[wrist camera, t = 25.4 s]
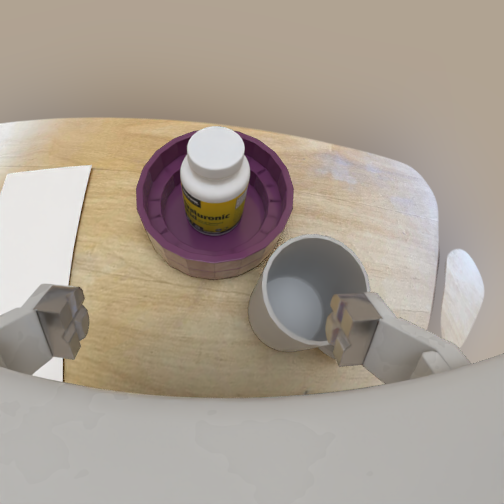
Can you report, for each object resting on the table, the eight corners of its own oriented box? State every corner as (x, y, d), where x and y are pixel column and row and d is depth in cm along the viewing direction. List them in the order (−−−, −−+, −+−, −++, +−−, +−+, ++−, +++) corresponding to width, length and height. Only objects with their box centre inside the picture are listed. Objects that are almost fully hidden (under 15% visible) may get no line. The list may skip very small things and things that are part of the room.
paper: (74, 400, 21) (69, 401, 20) (-41, 374, 19) (-47, 374, 18) (94, 161, 30) (91, 155, 29) (-11, 178, 28) (-15, 174, 27)
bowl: (307, 215, 31) (323, 189, 26) (214, 310, 26) (214, 298, 22) (215, 141, 33) (217, 109, 28) (121, 215, 28) (107, 188, 24)
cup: (286, 258, 29) (315, 214, 21) (359, 333, 27) (414, 316, 19) (229, 310, 26) (236, 284, 18) (308, 390, 25) (350, 399, 16)
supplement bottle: (175, 224, 28) (161, 160, 19) (201, 180, 30) (199, 110, 21) (228, 247, 28) (235, 188, 19) (251, 200, 30) (266, 133, 21)
